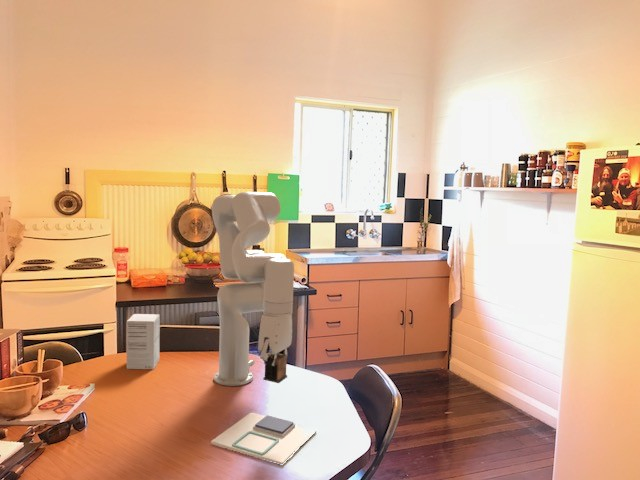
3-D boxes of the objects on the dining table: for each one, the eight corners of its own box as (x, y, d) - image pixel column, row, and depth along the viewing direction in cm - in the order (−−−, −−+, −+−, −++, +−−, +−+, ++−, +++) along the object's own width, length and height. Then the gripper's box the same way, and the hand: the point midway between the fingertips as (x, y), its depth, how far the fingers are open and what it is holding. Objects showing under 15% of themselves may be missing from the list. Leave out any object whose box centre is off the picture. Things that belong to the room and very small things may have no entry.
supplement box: (133, 359, 178) (133, 313, 177) (159, 359, 179) (160, 313, 178) (125, 369, 169) (125, 320, 167) (154, 369, 170) (154, 321, 168)
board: (251, 415, 139) (251, 408, 139) (316, 432, 131) (316, 425, 131) (211, 444, 123) (211, 436, 123) (282, 466, 115) (282, 457, 115)
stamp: (272, 373, 133) (272, 351, 132) (287, 377, 131) (287, 355, 130) (263, 379, 129) (264, 357, 128) (278, 383, 127) (279, 360, 126)
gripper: (280, 298, 137) (278, 363, 139) (247, 311, 121) (245, 384, 124) (305, 302, 134) (302, 368, 136) (274, 316, 118) (271, 390, 120)
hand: (275, 375), depth 130 cm, fingers closed on stamp, 4 cm apart
